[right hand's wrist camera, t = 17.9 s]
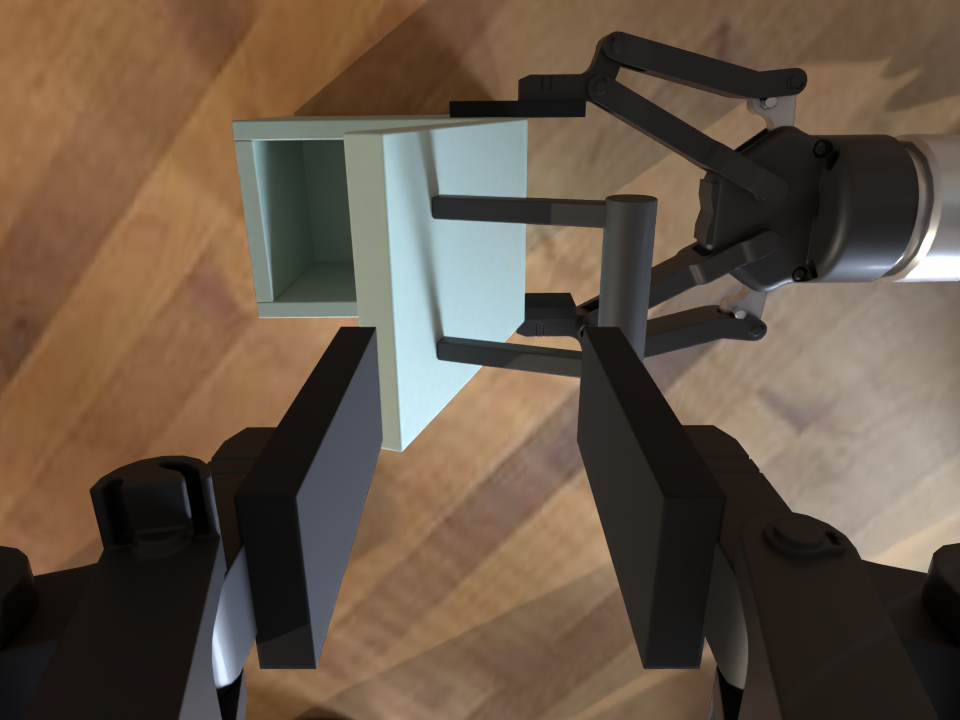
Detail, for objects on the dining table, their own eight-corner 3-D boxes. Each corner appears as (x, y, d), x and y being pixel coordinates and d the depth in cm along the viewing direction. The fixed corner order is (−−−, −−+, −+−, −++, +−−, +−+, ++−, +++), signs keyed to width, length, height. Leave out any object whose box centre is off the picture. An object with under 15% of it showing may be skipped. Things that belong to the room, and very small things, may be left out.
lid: (367, 446, 21) (621, 492, 18) (341, 132, 18) (650, 133, 15) (501, 319, 33) (665, 335, 31) (501, 118, 30) (687, 117, 27)
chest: (305, 272, 43) (258, 318, 34) (288, 115, 39) (230, 120, 30) (505, 270, 43) (512, 316, 34) (506, 113, 39) (514, 117, 30)
